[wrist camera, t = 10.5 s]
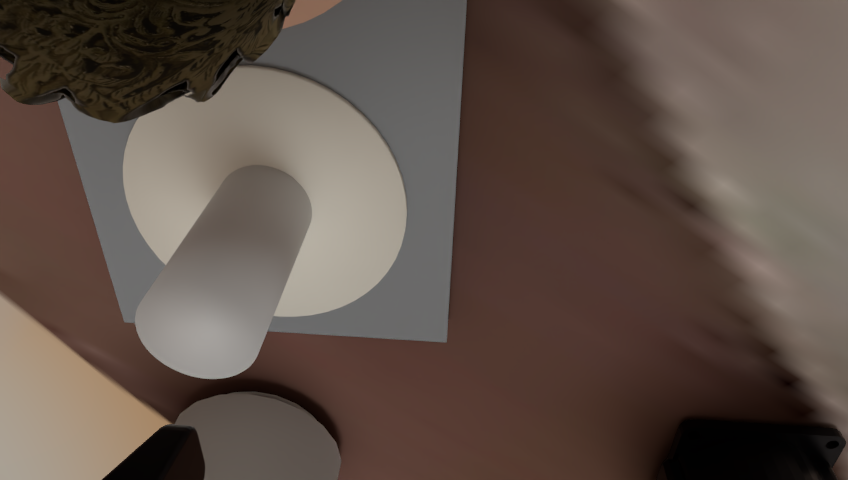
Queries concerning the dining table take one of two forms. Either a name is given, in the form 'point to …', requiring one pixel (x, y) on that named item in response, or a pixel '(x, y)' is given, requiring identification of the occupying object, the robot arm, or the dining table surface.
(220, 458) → the can
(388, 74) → the board
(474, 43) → the dining table surface
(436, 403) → the dining table surface
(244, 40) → the decorative vase
